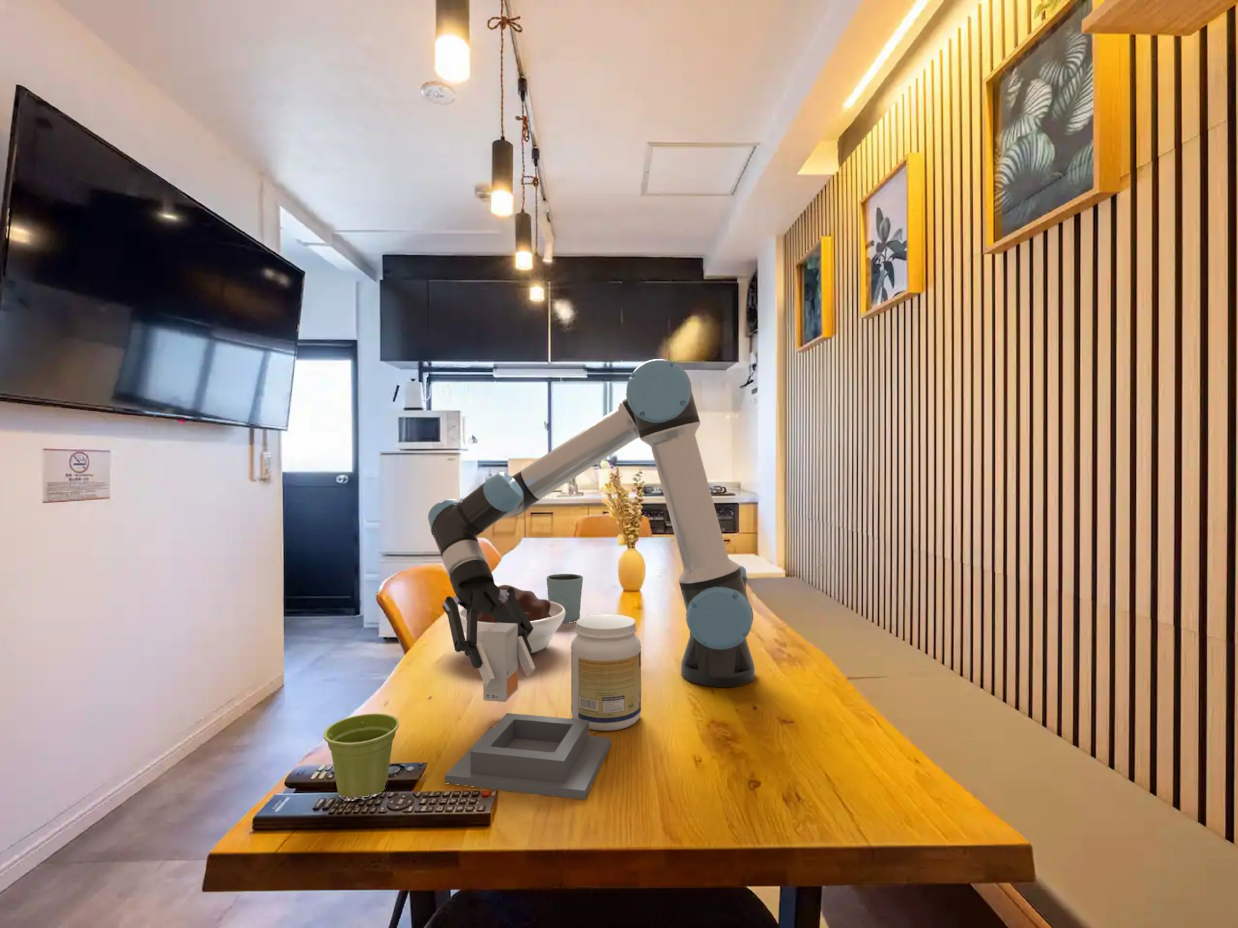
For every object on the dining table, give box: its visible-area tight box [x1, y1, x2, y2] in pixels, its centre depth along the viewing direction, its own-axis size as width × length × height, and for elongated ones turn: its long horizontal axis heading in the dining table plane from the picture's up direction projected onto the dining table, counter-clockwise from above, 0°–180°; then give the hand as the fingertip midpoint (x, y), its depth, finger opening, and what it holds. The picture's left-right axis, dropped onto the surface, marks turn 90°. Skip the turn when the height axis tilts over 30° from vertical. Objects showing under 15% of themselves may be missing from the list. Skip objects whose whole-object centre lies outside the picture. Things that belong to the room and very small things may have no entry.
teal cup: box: [546, 573, 584, 624], centre depth 176 cm, size 10×10×12 cm
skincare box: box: [482, 623, 519, 703], centre depth 109 cm, size 6×4×12 cm
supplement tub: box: [570, 613, 642, 732], centre depth 109 cm, size 12×12×17 cm
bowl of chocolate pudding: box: [459, 584, 566, 654], centre depth 147 cm, size 25×25×15 cm
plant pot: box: [323, 712, 400, 797], centre depth 85 cm, size 9×9×9 cm
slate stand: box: [444, 712, 612, 801], centre depth 92 cm, size 20×16×4 cm
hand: (510, 677), depth 107 cm, fingers closed on skincare box, 7 cm apart
